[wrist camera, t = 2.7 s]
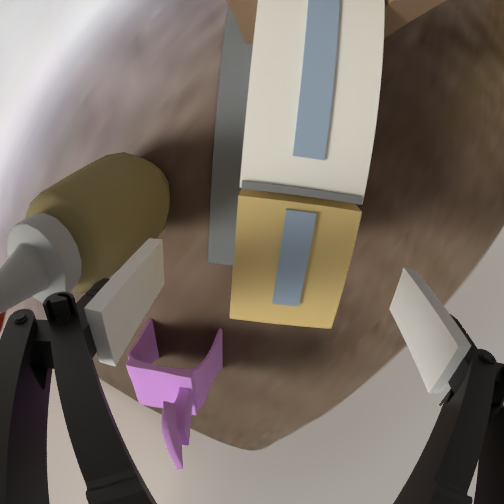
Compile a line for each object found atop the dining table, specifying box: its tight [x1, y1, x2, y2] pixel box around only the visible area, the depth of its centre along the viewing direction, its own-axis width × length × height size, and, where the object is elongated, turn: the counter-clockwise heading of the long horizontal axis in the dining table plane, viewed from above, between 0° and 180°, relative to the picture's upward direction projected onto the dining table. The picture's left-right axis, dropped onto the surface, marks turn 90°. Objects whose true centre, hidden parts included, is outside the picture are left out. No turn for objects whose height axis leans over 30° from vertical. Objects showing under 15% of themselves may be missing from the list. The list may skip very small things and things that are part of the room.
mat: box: [208, 4, 253, 265], centre depth 22 cm, size 24×12×1 cm, turn 175°
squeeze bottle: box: [0, 152, 170, 313], centre depth 17 cm, size 8×8×18 cm
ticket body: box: [227, 0, 446, 205], centre depth 13 cm, size 12×8×16 cm
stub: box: [230, 189, 362, 329], centre depth 18 cm, size 6×5×12 cm
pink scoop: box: [126, 319, 223, 469], centre depth 25 cm, size 8×9×15 cm
